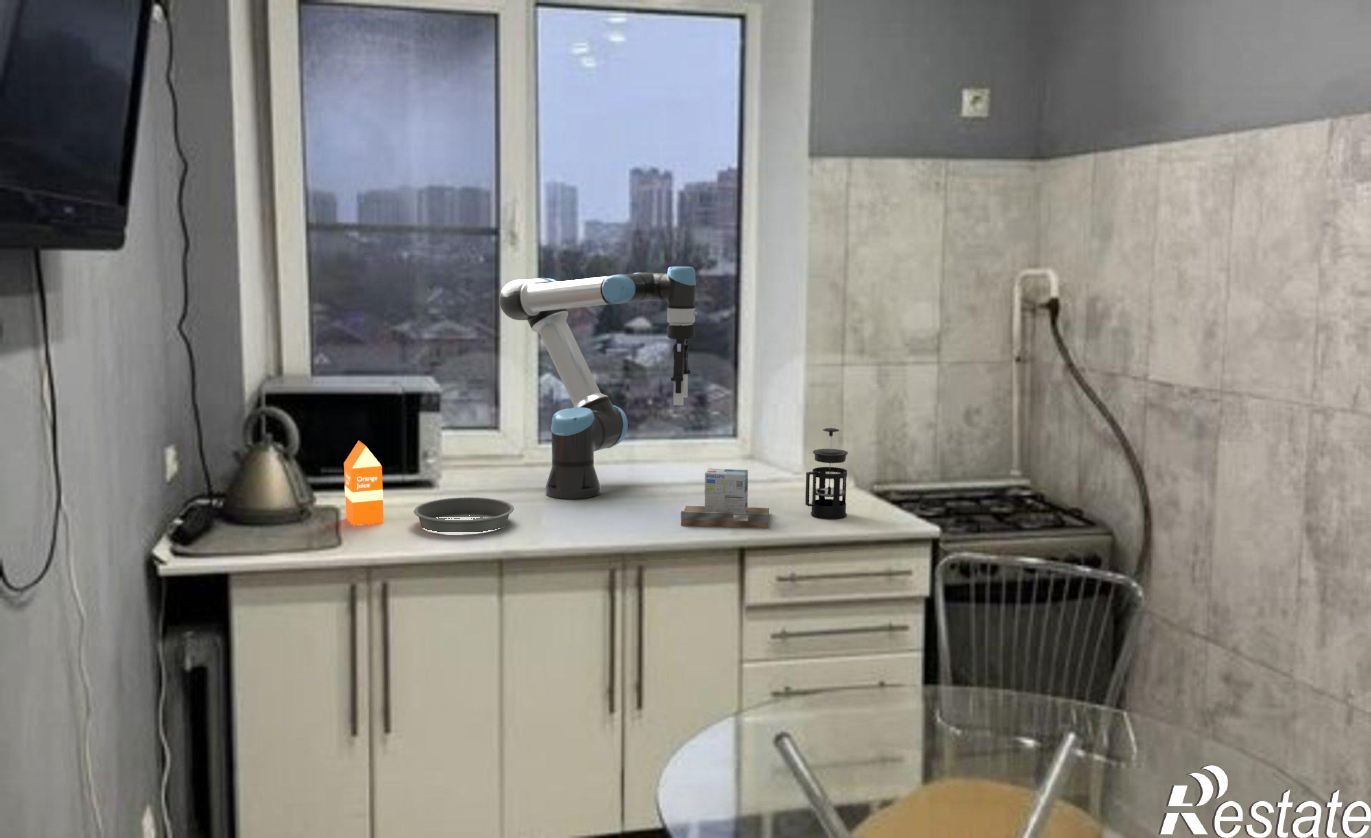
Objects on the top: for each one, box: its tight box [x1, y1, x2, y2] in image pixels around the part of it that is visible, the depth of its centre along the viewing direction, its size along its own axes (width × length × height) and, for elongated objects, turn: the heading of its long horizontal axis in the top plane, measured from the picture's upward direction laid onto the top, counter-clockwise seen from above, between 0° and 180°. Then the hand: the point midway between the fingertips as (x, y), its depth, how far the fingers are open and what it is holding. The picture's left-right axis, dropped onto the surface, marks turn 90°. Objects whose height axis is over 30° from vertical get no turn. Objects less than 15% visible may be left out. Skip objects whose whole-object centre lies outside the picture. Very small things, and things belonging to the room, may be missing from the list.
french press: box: [804, 427, 849, 521], centre depth 308 cm, size 12×9×23 cm
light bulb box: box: [704, 467, 749, 513], centre depth 306 cm, size 11×7×11 cm, turn 81°
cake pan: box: [413, 496, 515, 532], centre depth 297 cm, size 25×25×4 cm
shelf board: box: [680, 505, 770, 529], centre depth 304 cm, size 22×15×4 cm
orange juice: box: [343, 440, 385, 526], centre depth 298 cm, size 8×9×20 cm
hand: (680, 401), depth 325 cm, fingers open, 13 cm apart
